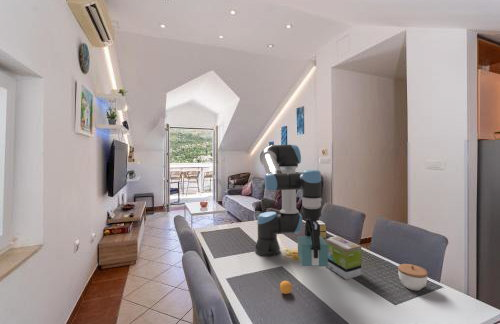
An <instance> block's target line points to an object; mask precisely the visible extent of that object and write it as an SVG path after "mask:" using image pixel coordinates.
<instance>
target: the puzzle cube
mask: <svg viewBox="0 0 500 324" xmlns="http://www.w3.org/2000/svg"><path fill="white" fill-rule="evenodd" d="M316 221H317V222H318V224H319V236H321V237H322V238H323V239H327V223H324V222H323V221H322V220H316Z"/></svg>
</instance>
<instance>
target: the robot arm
mask: <svg viewBox="0 0 500 324" xmlns="http://www.w3.org/2000/svg"><path fill="white" fill-rule="evenodd" d="M301 154H302V153H301V150H300V148H299V146H298V145H297V144H271V145H268V146H267V147H265V148H264V149H262V151H261V153H260V154H259V160H260V163H261V165H262V166H263V168H264V171H265V175H264V189H265V190H266V191H281V209H280V210H279V213H278V214H277V212H276V211H265V212H261V213H259V215H258V216H257V223H256V224H257V240H256V243H255V247H254V252H255V254H257V255H259V254H260V255H259V256H262V255H264V256H263V257H272V256H273V257H274V256H277V255H279V254H280V252H281V247H280V245H279V241H278V235H287V234H288V235H289V234H290V235H293V234H299V233H300V232H301V231H302V227H303V217H305V226H304V236H311V241H312V248H311V250H312V265H319V250H320V249H321V248H320V237H319V224H318V222H317V221H318V220H317V219H319V218H321V216H322V208H321V207H322V202H323V199H322V173H321V171H320V170H318V169H317V170H316V169H305V170H302V172H299V173H298V172H297V173H296V171H297V168H298V167H299V164H301V162H302V156H301ZM297 190H300V191H301V190H302V197H301V199H302V202H301V203H302V214H301V213H300V210H299V209H297Z"/></svg>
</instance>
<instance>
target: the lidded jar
mask: <svg viewBox="0 0 500 324" xmlns="http://www.w3.org/2000/svg"><path fill="white" fill-rule="evenodd" d="M397 270H398V272H397V273H398V278H399V280H400V282H401V283H402V284H403V286H404V287H405V288H407V289H408V290H411V291H416V292H417V291H421V290H422V289H423V288H425V287H426V285H427V282H428V274H429V273H428V271H427V270H426V269H425V268H423V267H421V266H419V265H415V264H410V263H401V264H398V266H397Z"/></svg>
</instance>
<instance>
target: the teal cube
mask: <svg viewBox="0 0 500 324" xmlns="http://www.w3.org/2000/svg"><path fill="white" fill-rule="evenodd" d="M319 237H320V248H321V249H320V250H319V265H312V250H311V248H312V241H311V236H306V235H298V236H297V257H298V259H299V262H300V264H301V267H326V266H328V244H327V243H326V242H325V238H322V237H321V236H319Z"/></svg>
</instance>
